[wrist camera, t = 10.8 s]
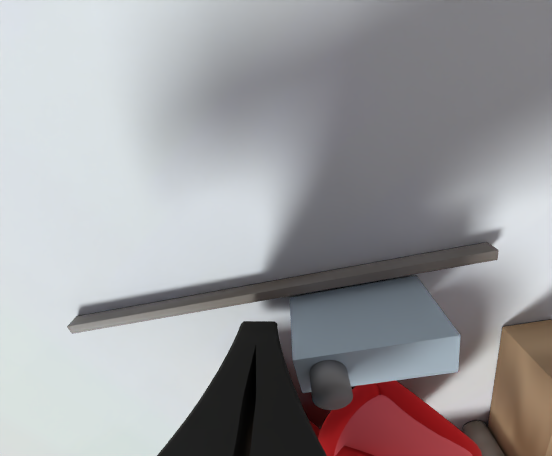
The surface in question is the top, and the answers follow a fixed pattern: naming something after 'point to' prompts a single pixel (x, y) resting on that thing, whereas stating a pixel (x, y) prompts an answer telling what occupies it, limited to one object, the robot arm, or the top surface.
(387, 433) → the cap
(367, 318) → the pale blue-grey box
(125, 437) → the top surface
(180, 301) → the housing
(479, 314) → the top surface
